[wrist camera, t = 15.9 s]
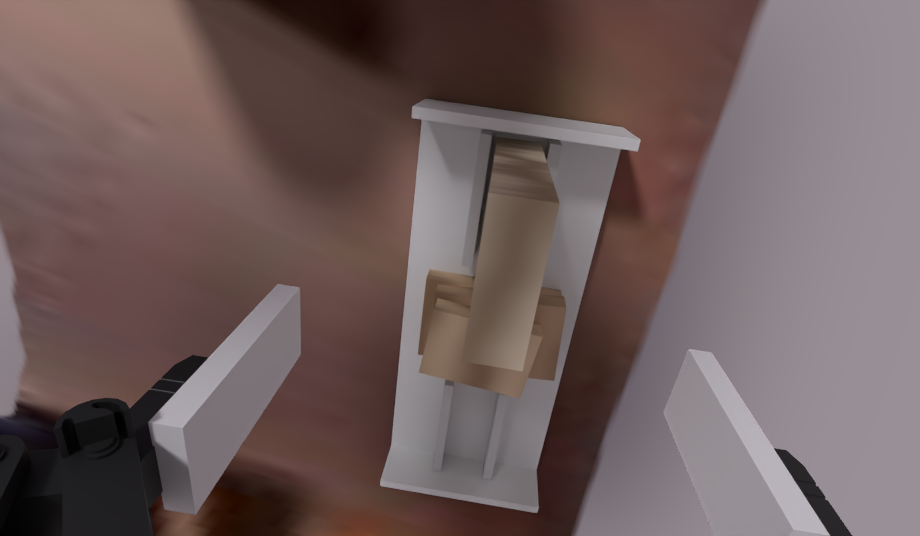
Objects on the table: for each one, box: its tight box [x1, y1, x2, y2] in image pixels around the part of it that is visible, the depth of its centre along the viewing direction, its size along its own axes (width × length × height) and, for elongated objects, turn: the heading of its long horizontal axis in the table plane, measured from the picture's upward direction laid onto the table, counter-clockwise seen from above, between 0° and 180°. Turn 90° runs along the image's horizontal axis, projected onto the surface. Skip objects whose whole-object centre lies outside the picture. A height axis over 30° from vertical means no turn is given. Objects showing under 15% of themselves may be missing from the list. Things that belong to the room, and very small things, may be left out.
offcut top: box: [419, 298, 542, 398], centre depth 42 cm, size 9×6×2 cm
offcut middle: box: [434, 285, 567, 381], centre depth 43 cm, size 11×7×2 cm
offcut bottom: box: [418, 269, 562, 355], centre depth 45 cm, size 12×8×2 cm, turn 82°
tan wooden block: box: [462, 137, 560, 371], centre depth 34 cm, size 4×10×17 cm, turn 172°
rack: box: [380, 99, 641, 513], centre depth 45 cm, size 16×37×6 cm, turn 172°
